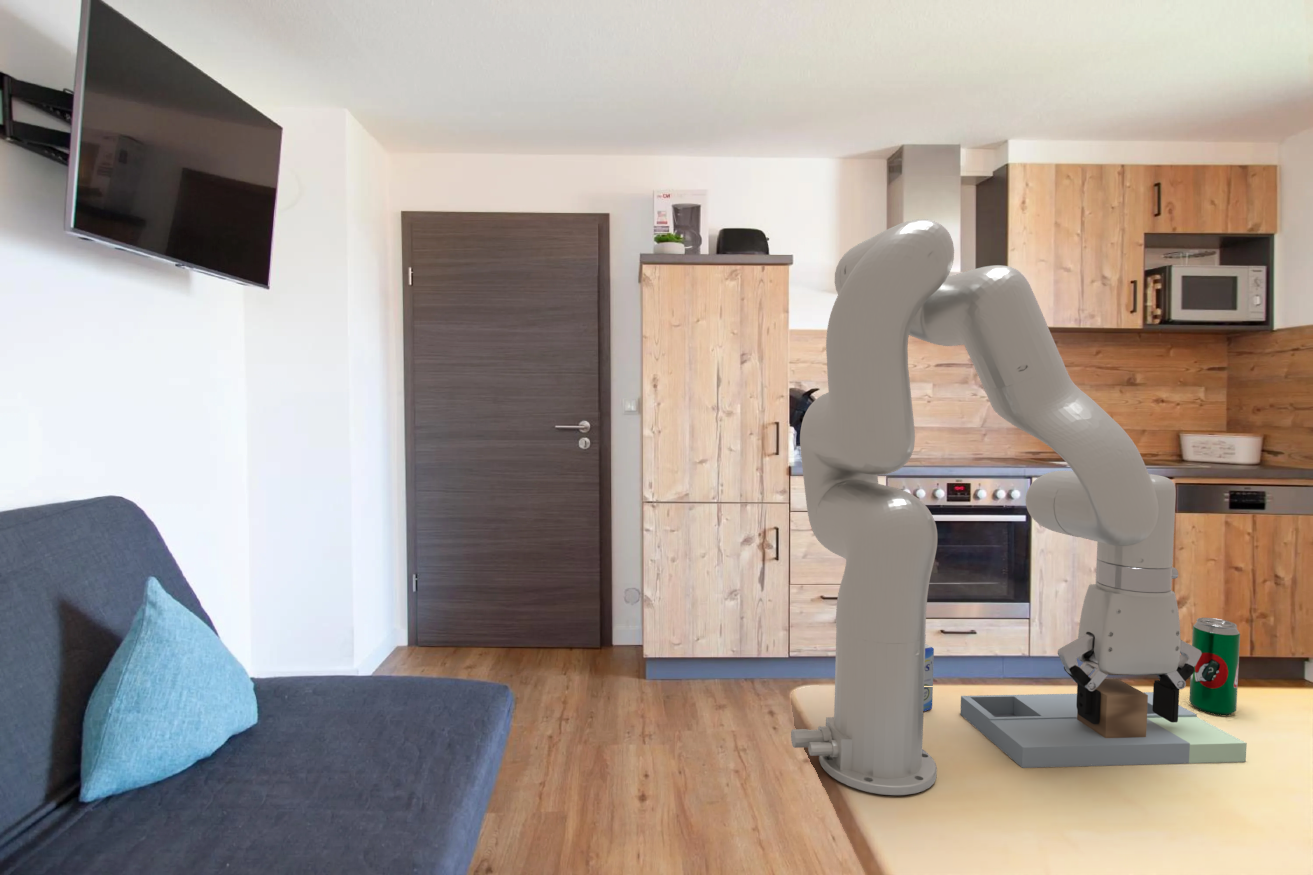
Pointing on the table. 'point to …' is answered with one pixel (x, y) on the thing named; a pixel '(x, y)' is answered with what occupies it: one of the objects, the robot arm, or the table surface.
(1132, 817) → the table surface
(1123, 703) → the block
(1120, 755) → the box
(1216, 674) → the soda can
